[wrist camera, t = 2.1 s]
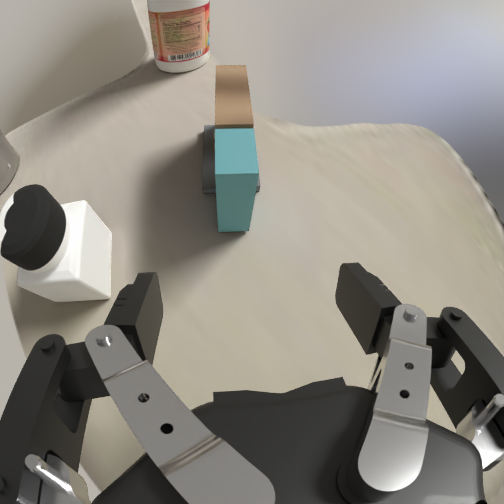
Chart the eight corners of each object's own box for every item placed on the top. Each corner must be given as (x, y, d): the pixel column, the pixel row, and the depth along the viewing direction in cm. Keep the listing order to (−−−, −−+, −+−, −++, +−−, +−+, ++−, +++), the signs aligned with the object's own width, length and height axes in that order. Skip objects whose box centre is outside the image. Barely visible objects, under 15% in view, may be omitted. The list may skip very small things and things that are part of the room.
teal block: (248, 230, 28) (259, 173, 19) (218, 232, 27) (215, 174, 18) (245, 192, 29) (253, 128, 20) (217, 193, 29) (215, 129, 20)
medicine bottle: (113, 232, 27) (61, 163, 15) (112, 299, 24) (42, 258, 13) (60, 240, 26) (-2, 184, 15) (55, 303, 23) (-21, 267, 12)
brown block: (259, 191, 30) (272, 124, 20) (203, 193, 29) (195, 125, 20) (252, 129, 33) (260, 65, 24) (204, 131, 32) (201, 66, 23)
